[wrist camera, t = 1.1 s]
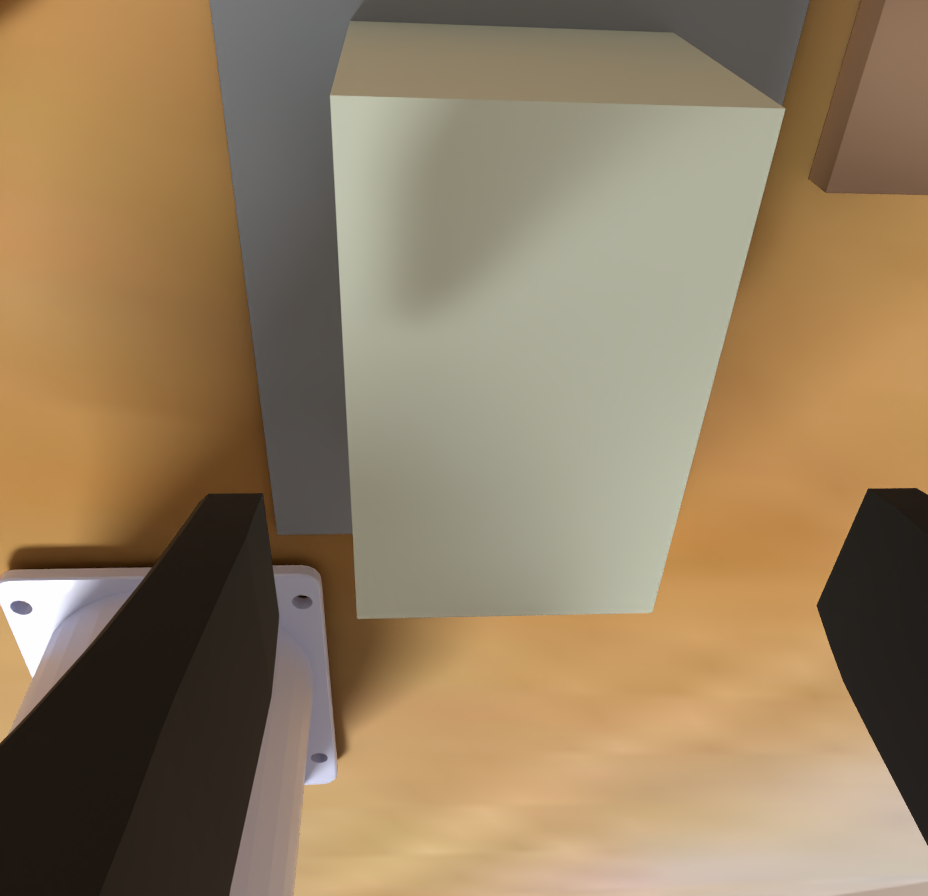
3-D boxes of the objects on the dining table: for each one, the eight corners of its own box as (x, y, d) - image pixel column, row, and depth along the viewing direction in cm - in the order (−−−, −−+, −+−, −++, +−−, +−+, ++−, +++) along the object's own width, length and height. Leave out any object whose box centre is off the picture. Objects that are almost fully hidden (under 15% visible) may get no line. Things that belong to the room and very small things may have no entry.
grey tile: (669, 524, 21) (671, 530, 21) (277, 529, 20) (276, 535, 20) (840, -142, 13) (847, -141, 13) (190, -176, 12) (187, -177, 12)
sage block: (598, 453, 19) (651, 612, 15) (365, 454, 19) (357, 619, 15) (673, 32, 14) (786, 109, 10) (350, 20, 13) (330, 95, 9)
